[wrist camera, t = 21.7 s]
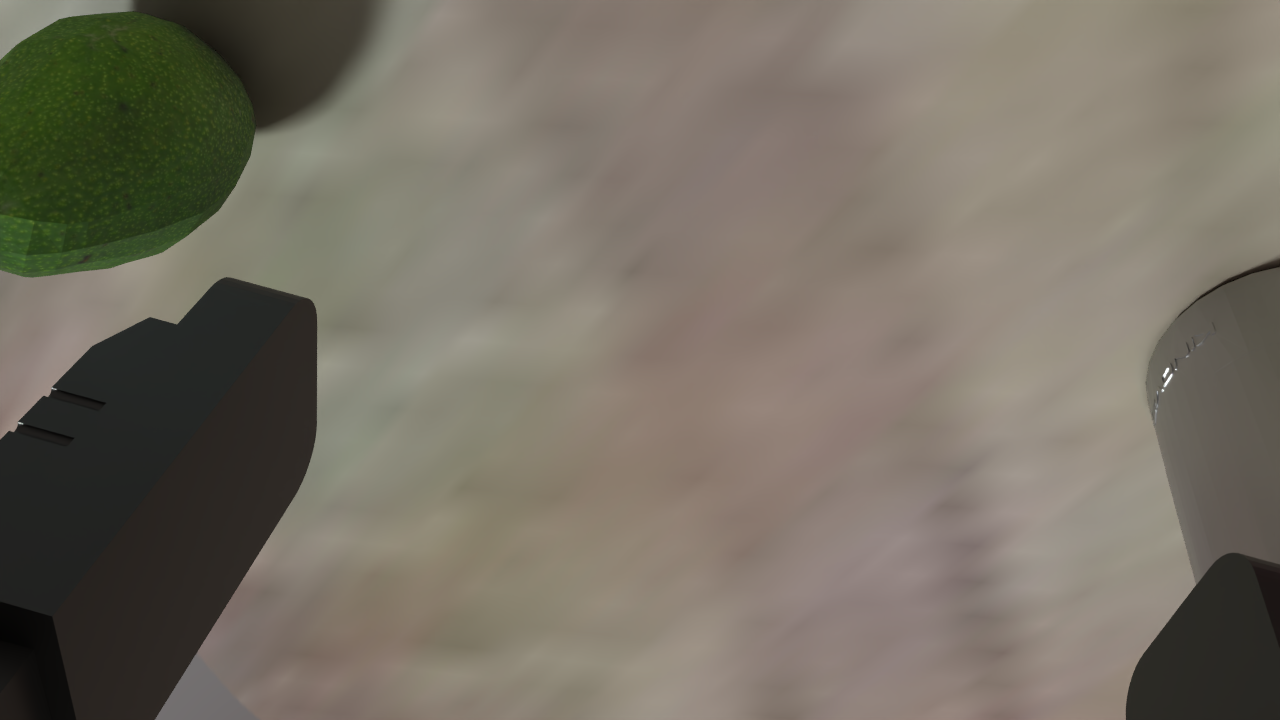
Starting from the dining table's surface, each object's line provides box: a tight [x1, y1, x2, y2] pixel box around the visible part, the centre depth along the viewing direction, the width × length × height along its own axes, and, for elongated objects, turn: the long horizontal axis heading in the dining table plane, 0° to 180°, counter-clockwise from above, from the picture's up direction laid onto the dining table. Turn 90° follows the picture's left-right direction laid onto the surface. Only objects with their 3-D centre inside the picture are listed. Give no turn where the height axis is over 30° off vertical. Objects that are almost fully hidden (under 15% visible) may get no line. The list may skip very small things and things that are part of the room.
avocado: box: [0, 11, 256, 277], centre depth 37 cm, size 8×8×12 cm
